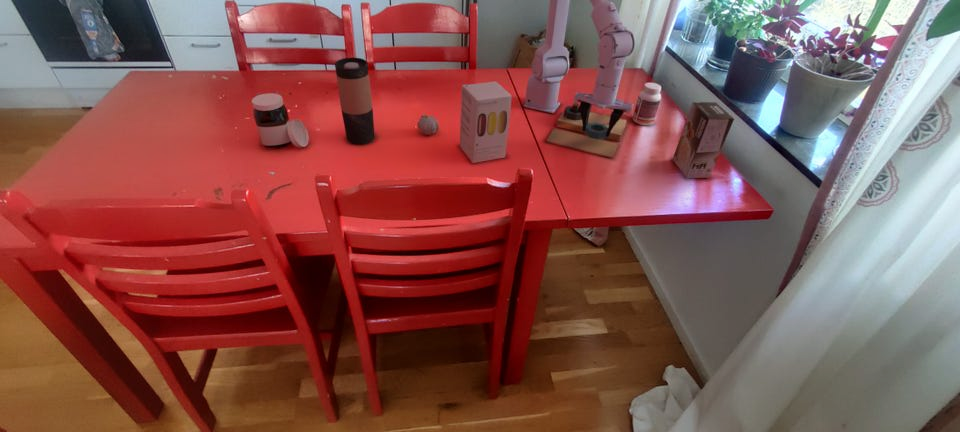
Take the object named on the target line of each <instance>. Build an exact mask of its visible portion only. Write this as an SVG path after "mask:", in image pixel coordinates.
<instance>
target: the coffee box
mask: <svg viewBox="0 0 960 432" xmlns="http://www.w3.org/2000/svg"><path fill="white" fill-rule="evenodd" d="M734 121H735V118H734V117H733V116H732V115H731V114H730V113H729V112H727V111H726V110H725V109H724V108H723V107H721V105H719V103H717V102H713V101H700V102H692V103H691V105H690V109H689V111H688V115H687V118H686V120H685V123H684V126H683V129H682V132H681V135H680V137H679V140H678V143H677V146H676V148H675V150H674V151H675V152H674V154H673V156H672V161H673V162H674V164H675V165H676V166H677V167H678V169H679V170H680V171H681V173H682V174H683V175H684V176H685V178H687V179H709V178H710V176H711V175H712V172H713V169H714V168H715V165H716V163H717V160H718V158H719V156H720V153H721V151H722V149H723V147H724V143H725V142H726V140H727V137H728V134H729V132H730V130H731V128H732V125H733V123H734Z"/></svg>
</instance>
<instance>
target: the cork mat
mask: <svg viewBox="0 0 960 432" xmlns="http://www.w3.org/2000/svg"><path fill="white" fill-rule="evenodd" d="M545 142H546V143H549V144H553V145H557V146H560V147H563V148H564V147H565V148H568V149H572V150H577V151H581V152H583V153H584V152H585V153H588V154H592V155H595V156H596V155H597V156H601V157H603V158H608V159H613V158H614V155H615V154H616V153H615V152H616V151H617V148H618V145H619V143H617V142H613V141H609V140H606V139H605V140H604V139H594V138H590V137H588V136H587V135H584V134H580V133H577V132H572V131H569V130H564V129H560V128H553V129H552V131H550V134H549V136H548V137H547V138H546V140H545Z"/></svg>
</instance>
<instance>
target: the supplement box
mask: <svg viewBox="0 0 960 432" xmlns="http://www.w3.org/2000/svg"><path fill="white" fill-rule="evenodd" d="M512 99H513V95H512V94H510V92H509V91H508V90H507V89H506V88H504V87H503V86H502V85H501V84H500V83H499V82H498V81H496V80H494V81H488V82H487V81H486V82H478V83H471V84H470V83H469V84H461V101H460V126H459V127H460V128H459V147H460V149H461V150H462V151H463V153H464V154H465V155H466V157H467V158H468V159H469V160H470V162H471V163H472V164H476V163H481V162H486V161H493V160H498V159H504V158H506V155H507V146H508V138H509V137H508V135H509V129H510V128H509V126H510V118H511V108H512Z"/></svg>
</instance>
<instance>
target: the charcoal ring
mask: <svg viewBox="0 0 960 432" xmlns="http://www.w3.org/2000/svg"><path fill="white" fill-rule="evenodd" d="M572 106H573V105H567V106H565V108H564V110H563V111H564V116H565V117H566V118H567V119H571V120H575V121H576V120H582V117H581V114H580V111H579V109H578V113H574V112H571V111H572Z"/></svg>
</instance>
